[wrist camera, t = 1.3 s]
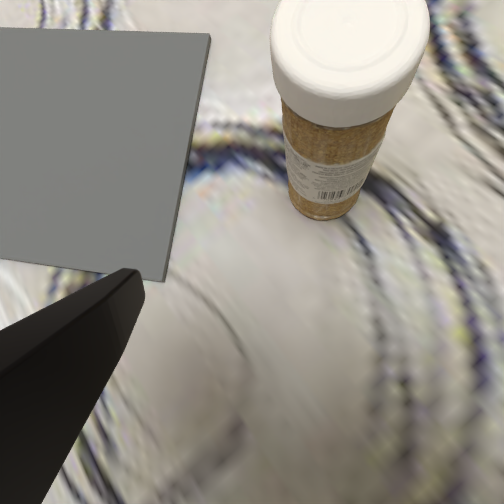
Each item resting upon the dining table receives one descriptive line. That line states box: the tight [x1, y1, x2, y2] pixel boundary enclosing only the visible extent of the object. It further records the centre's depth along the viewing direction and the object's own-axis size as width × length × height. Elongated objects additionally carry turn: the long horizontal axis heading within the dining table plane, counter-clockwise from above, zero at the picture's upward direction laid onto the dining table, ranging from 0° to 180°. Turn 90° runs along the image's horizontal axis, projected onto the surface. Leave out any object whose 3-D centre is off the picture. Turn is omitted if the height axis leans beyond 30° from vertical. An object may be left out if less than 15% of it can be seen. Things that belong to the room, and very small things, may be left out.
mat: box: [0, 27, 211, 282], centre depth 26 cm, size 18×18×1 cm
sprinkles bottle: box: [270, 0, 430, 220], centre depth 17 cm, size 5×5×14 cm
